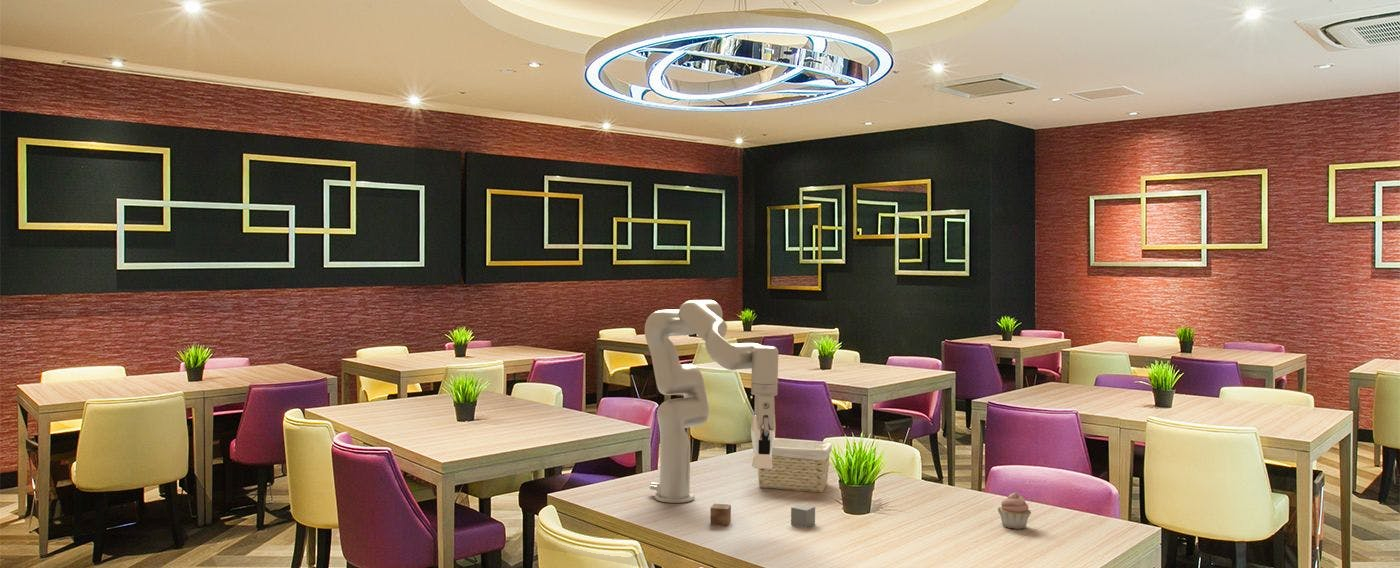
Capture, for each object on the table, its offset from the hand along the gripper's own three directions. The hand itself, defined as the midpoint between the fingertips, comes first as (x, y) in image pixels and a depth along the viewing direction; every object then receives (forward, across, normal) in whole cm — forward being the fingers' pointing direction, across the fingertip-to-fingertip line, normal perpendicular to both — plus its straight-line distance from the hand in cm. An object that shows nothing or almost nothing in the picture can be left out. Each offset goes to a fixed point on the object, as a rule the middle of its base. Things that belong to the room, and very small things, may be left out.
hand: (762, 450), depth 262 cm
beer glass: (+5, 0, 0) cm, 5 cm away
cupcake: (+20, -3, -73) cm, 76 cm away
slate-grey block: (+21, 0, -12) cm, 24 cm away
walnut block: (+21, 0, +12) cm, 24 cm away
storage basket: (+22, +46, -16) cm, 53 cm away
